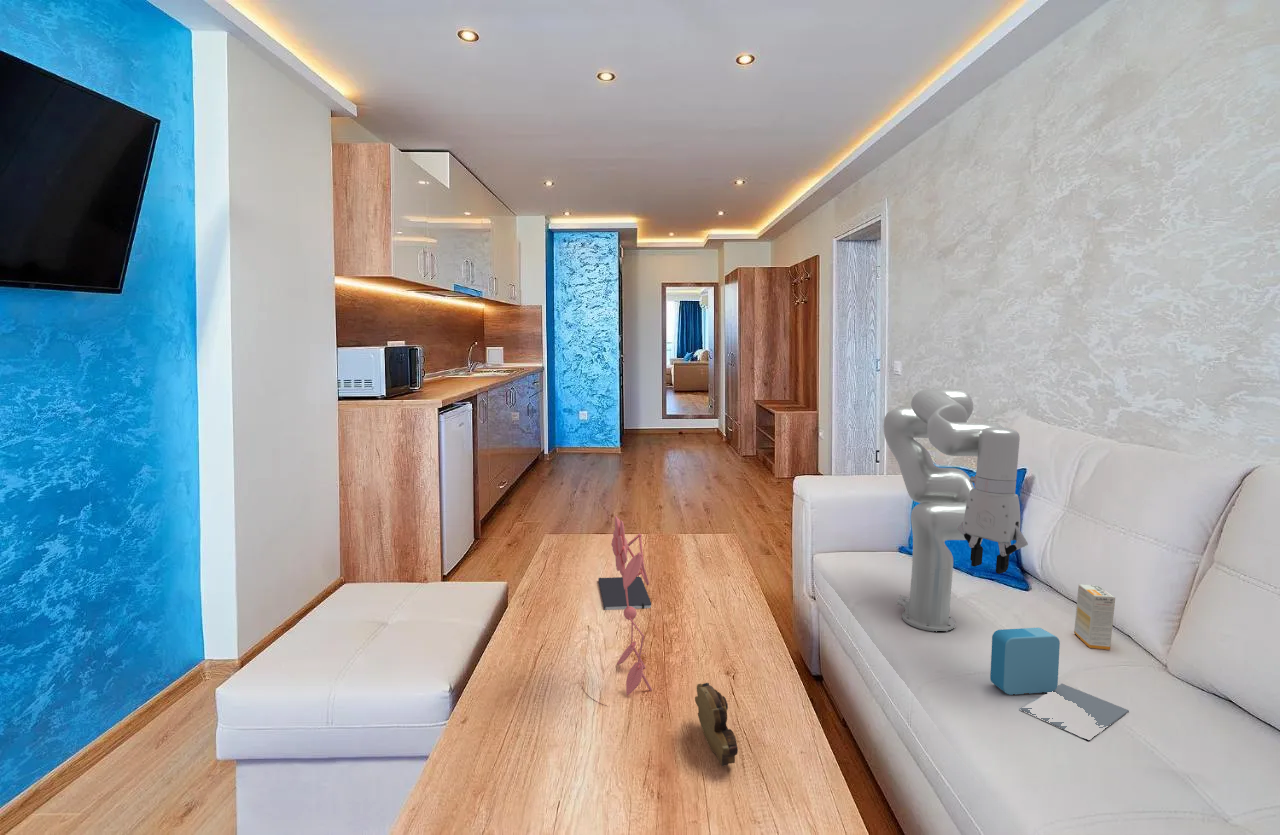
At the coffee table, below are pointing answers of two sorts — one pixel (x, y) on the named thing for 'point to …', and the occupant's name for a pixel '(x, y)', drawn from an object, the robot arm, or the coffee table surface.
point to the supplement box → (1094, 616)
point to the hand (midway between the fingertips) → (988, 567)
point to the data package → (1024, 660)
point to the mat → (1088, 706)
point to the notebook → (623, 594)
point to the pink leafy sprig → (630, 613)
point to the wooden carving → (716, 723)
